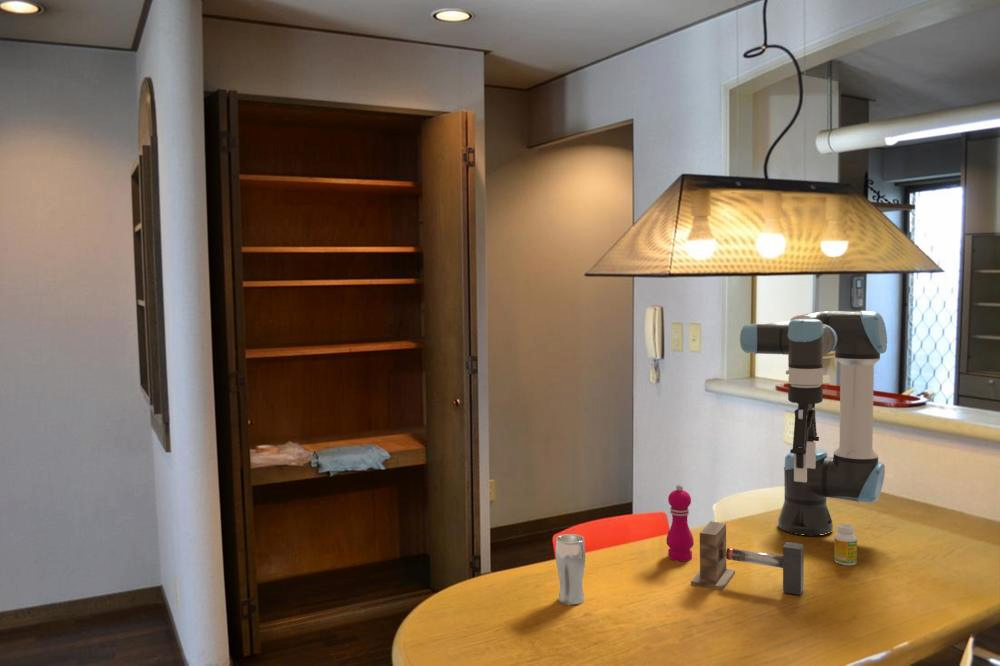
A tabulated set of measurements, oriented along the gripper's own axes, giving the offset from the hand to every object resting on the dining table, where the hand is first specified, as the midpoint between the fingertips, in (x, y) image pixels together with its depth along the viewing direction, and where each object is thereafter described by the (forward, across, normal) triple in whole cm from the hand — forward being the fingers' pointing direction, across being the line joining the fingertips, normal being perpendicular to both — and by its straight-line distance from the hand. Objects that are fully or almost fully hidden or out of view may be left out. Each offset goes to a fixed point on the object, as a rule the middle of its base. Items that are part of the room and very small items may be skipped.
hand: (805, 474), depth 185 cm
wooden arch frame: (+29, +1, -22) cm, 36 cm away
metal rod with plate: (+28, +1, -9) cm, 30 cm away
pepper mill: (+29, -10, -33) cm, 45 cm away
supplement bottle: (+29, -25, +6) cm, 39 cm away
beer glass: (+29, +28, -48) cm, 63 cm away
